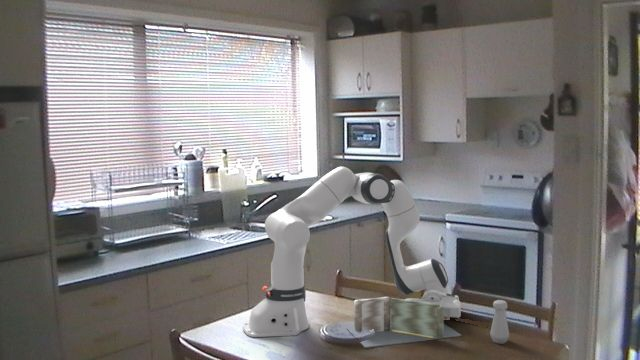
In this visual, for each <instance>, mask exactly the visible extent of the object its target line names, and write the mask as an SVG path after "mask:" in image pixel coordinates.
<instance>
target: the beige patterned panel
mask: <svg viewBox="0 0 640 360" xmlns="http://www.w3.org/2000/svg"><path fill="white" fill-rule="evenodd" d="M353 303H354V304H353V308H354V327H355V331H356V332H361V331H363V330H372V329H374V331H375V332H379V331H390V330H391V296H381V297H370V298H361V299H355V300H354V302H353Z"/></svg>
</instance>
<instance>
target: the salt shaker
mask: <svg viewBox="0 0 640 360" xmlns="http://www.w3.org/2000/svg"><path fill="white" fill-rule="evenodd" d="M492 307H493V309H494V312H493V313H494V315H493V319H492V323H491V327H490V332H489V334H490V338H491V339H492V342H493V343H495V344H502V345H504V344H505V343H507V342H508V340H509V338H510V331H509V330H510V329H509V324H508V318H507V311H506V310H507V309H508V302H507V301H505V300H502V299H497V300H494V301H493V303H492Z"/></svg>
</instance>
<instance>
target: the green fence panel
mask: <svg viewBox="0 0 640 360" xmlns="http://www.w3.org/2000/svg"><path fill="white" fill-rule="evenodd" d="M405 299H406V298H405ZM405 299H404V298H395V297H390V308H391V330H396V331H402V332H407V333H413V334H419V335H424V336H430V337H436V338H438V339H437V340H439V339H440V340H441V339H444V338H443V323H444V307H443V306H440V305H439V304H432V303H425V302H418V301H411V300H405ZM444 324H445V323H444Z"/></svg>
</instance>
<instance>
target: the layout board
mask: <svg viewBox="0 0 640 360" xmlns="http://www.w3.org/2000/svg"><path fill="white" fill-rule="evenodd" d="M457 337H458V338H459V337H462V334H461V333H459V332H457V331H456V330H455V329H454V328H451V327H450V326H448V325H447V324H445V323H443V339H446V338H447V339H449V338H457ZM432 340H433V341H434V340H439V339H438V338H436V337H430V336H424V335H419V334H413V333H407V332H402V331H396V330H390V331H379V332H375V334H374V335H373V337H372V338H370V339H368V340H365V341H362V342H359V344H361V345H362V346H363V347H364V348H365V349H369V348H370V349H371V348H377V347H378V348H379V347H386V346H392V345H400V344H409V343H416V342H418V343H419V342H426V341H432Z"/></svg>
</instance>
